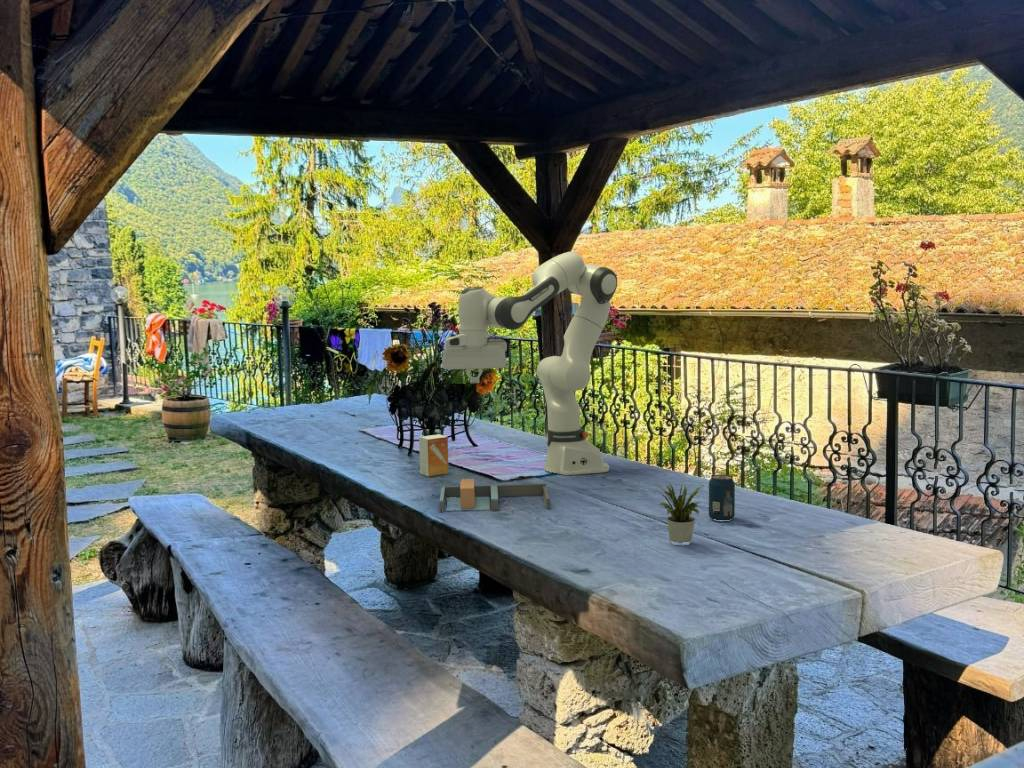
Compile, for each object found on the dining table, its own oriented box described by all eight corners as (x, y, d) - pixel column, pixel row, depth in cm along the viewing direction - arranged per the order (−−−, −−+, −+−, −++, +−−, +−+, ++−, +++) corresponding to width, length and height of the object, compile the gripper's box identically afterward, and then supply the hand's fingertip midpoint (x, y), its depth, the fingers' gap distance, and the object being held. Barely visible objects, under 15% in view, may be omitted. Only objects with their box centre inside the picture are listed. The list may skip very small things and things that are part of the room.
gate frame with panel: (545, 494, 286) (545, 483, 286) (549, 508, 270) (549, 496, 269) (442, 497, 285) (441, 486, 285) (439, 512, 269) (439, 500, 268)
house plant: (641, 548, 230) (641, 484, 228) (653, 533, 243) (653, 472, 241) (699, 553, 225) (699, 488, 223) (708, 537, 238) (708, 475, 236)
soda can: (715, 514, 259) (716, 472, 258) (738, 518, 255) (739, 475, 253) (704, 520, 254) (704, 477, 252) (727, 524, 249) (727, 480, 248)
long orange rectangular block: (474, 498, 283) (474, 478, 282) (474, 508, 271) (473, 488, 270) (461, 498, 283) (461, 479, 282) (460, 508, 271) (460, 488, 270)
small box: (428, 477, 314) (427, 439, 313) (419, 473, 319) (418, 436, 318) (449, 473, 319) (448, 436, 317) (440, 470, 324) (439, 433, 322)
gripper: (506, 337, 293) (507, 380, 295) (441, 339, 292) (443, 382, 294) (507, 339, 287) (508, 383, 289) (440, 340, 286) (442, 385, 288)
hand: (474, 383), depth 291 cm, fingers closed
